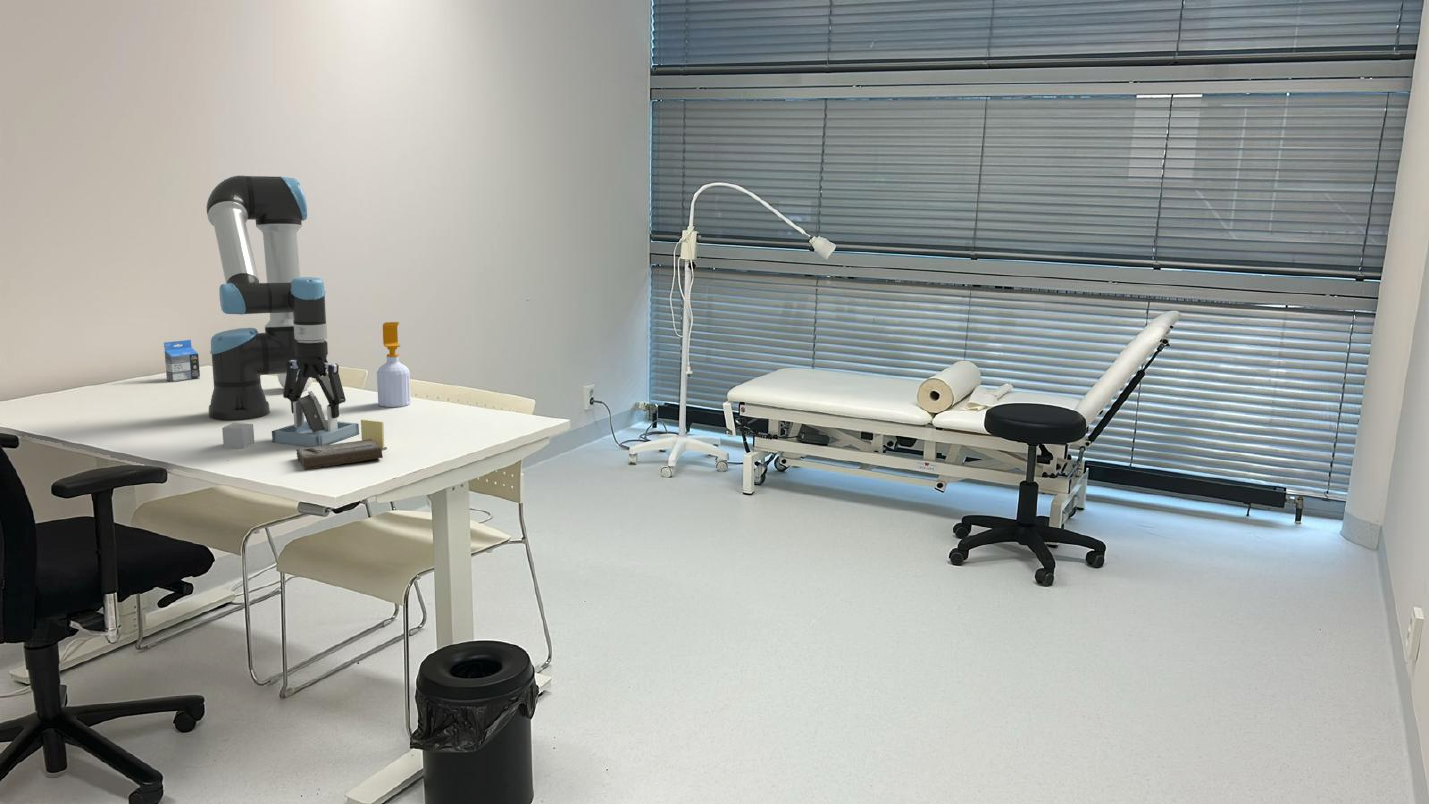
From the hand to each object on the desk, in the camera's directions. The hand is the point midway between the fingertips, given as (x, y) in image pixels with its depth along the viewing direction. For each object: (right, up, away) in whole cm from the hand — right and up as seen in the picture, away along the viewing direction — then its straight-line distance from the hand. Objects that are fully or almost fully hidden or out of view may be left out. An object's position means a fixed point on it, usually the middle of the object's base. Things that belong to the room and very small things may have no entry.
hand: (316, 428), depth 244 cm
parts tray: (0, -2, 0) cm, 3 cm away
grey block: (-15, -4, -8) cm, 18 cm away
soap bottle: (+6, +6, +41) cm, 42 cm away
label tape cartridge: (-70, +14, +66) cm, 97 cm away
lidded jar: (-29, +10, +56) cm, 64 cm away
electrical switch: (0, 0, 0) cm, 1 cm away
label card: (+17, -5, -8) cm, 19 cm away
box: (+13, -8, -18) cm, 24 cm away
